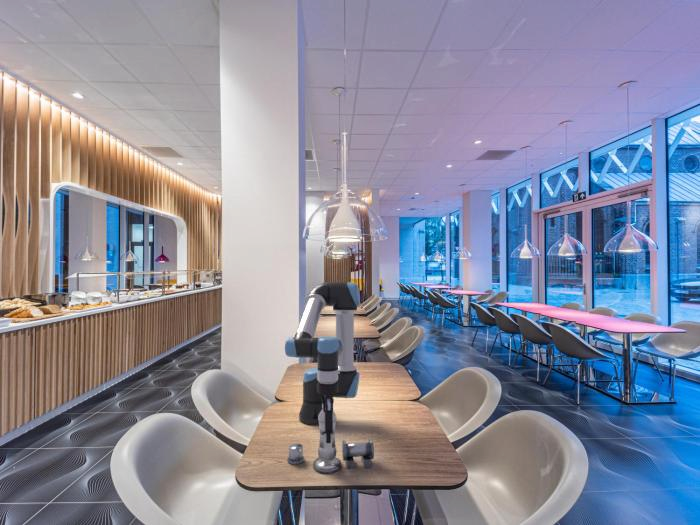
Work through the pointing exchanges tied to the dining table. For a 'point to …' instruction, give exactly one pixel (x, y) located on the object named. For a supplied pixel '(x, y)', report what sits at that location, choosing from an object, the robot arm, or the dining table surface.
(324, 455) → the plastic bottle
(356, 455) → the grey metal parts
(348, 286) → the robot arm
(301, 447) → the metal thimble
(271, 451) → the dining table surface
